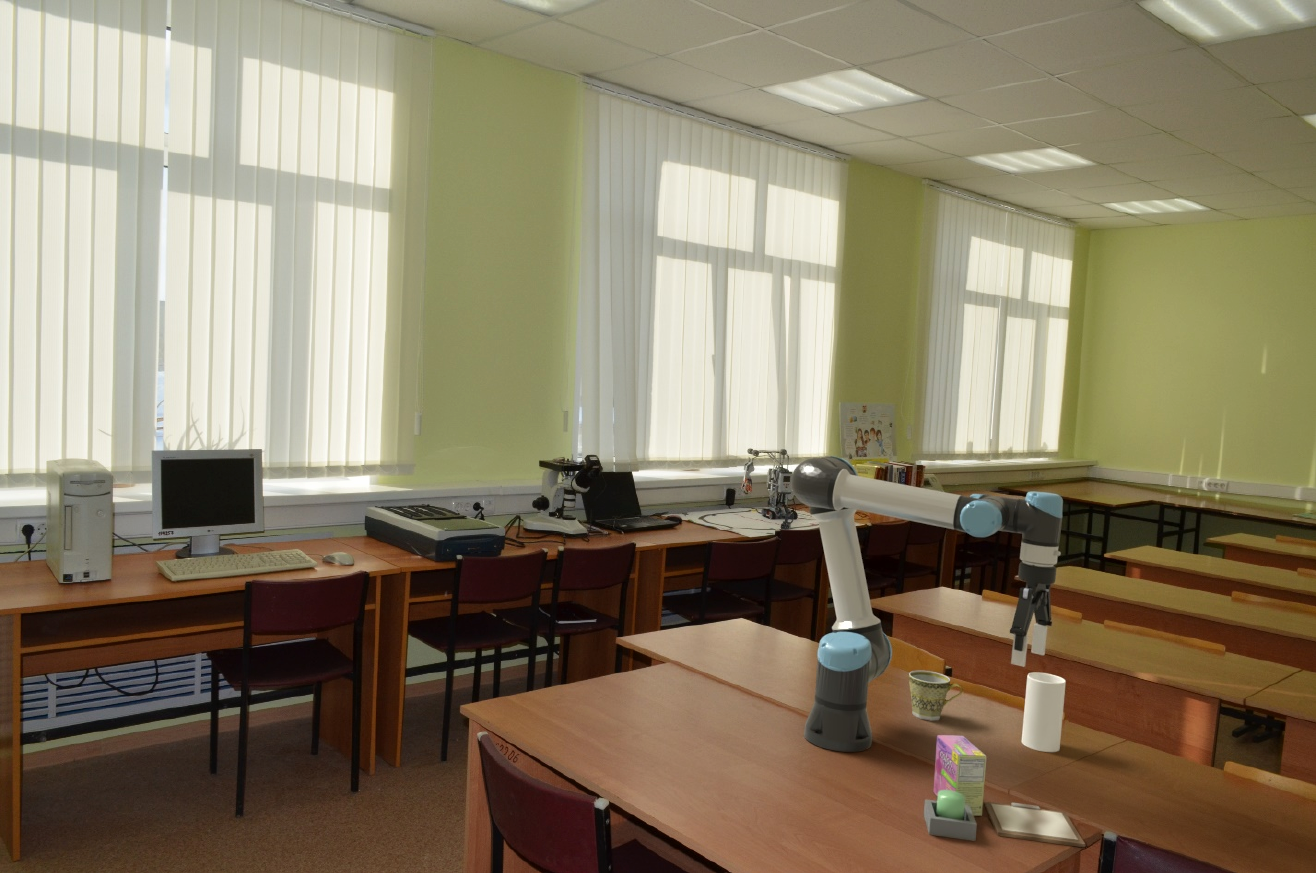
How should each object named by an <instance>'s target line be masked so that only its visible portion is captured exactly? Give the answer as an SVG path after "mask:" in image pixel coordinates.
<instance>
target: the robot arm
mask: <svg viewBox="0 0 1316 873" xmlns="http://www.w3.org/2000/svg"><path fill="white" fill-rule="evenodd" d="M790 482H791V490H792V492H793V495H794V496H795V498H797V501H799V502H800V503H802V504H804V505H805V506H807V507H808V510H809V513H810V514H809V515H810V516H811V518H812V519H815V520H816V521H817V523H818V526H819V527H818V528H819V532H820V538H821V543H822V547H823V552H824V558H825V564H826V569H827V573H828V574H827V575H828V580H829V585H830V589H831V590H830V591H831V594H832V599H833V606H834V611H835V616H836V620H835V622H834V623H833V625H832V626H831V630H832V632H830V633H827V634H825V635H824V636H822V637H821V639H820V640H819V645H818V649H817V652H816V653H817V662H816V678H815V691H814V693H815V694H814V701H813V705H812V707H811V710H810V712H809V714H808V716H807V719H806V722H805V724H804V730H803V731H804V733H803V736H804V738H805V740H807V741H808V742H809V743H811V744H813V745H815V746H817V747H819V748H823V749H826V750H831V751H836V752H844V753H845V752H846V753H848V752H849V753H853V752H861V751H866V750H868V749H870V748H871V747H872V744H873V743H872V741H873V731H872V729H871V724H870V719H869V715H868V711H867V706H868V705H867V703H868V693H869V692H868V691H869V684H870V683H871V682H872V681H873V680H874V679H876V678H878V677H880V676H882V674H884V672H885V671H886V670H887V669H888V667H889V665H890V663H891V661H892V658H893V657H892V656H893V647H892V644H891V640H890V639H889V637H888V636H887V635H886V634H885V633H884V631H883V628H882V626H883V625H882V621H881V619H880V618H878V617H877V616H875V615H874V613H873V609H872V604H871V599H870V594H869V590H868V589H869V588H868V583H867V579H866V572H865V569H864V563H863V562H864V561H863V559H862V558H863V557H862V553H861V546H860V542H859V537H858V531H857V527H856V523H855V514H856V513H857V511H860V512H866V513H871V514H876V515H880V516H886V517H892V518H895V519H900V520H906V521H911V522H915V523H921V524H926V525H930V526H936V527H941V528H946V529H949V530H950V529H951V530H956V531H958V532H963V533H967V534H969V535H970V536H972V537H975V538H987V537H990V536H992V535H994V534H996V533H997V532H998V531H999V532H1000V531H1001V532H1006V533H1007V532H1009V533H1015V534H1022V535H1021V536H1022V537H1021V544H1020V545H1021V546H1020V551H1019V552H1020V553H1019V560H1021V561H1020V563H1019V565H1018V573H1017V574H1018V575H1017V578H1018V579H1019V580H1021V581H1024V582H1026V584H1025V587H1020V588H1019V596H1018V600H1017V603H1016V604H1017V605H1016V607H1015V613H1014V617H1013V620H1012V623H1011V627H1010V629H1009V634H1013V640H1012V642H1013V643H1012V648H1011V649H1012V650H1011V661H1010V664H1011V665H1016V666H1019V667H1023V668H1024V667H1026V663H1027V662H1026V660H1027V651H1028V644H1029V643H1028V640H1029V636H1028V631H1029V629H1030V625H1031V623H1032V620H1033V616H1034V619H1035V623H1034V624H1033V630H1032V640H1031V641H1032V642H1031V652H1030V653H1032V654H1036V655H1039V656H1045V654H1046V643H1047V636H1048V635H1047V634H1048V627H1052V626H1053V621H1052V606H1051V604H1052V603H1051V585H1053V584H1055V583H1056V577H1057V567H1056V566H1055V565H1057V563H1058V557H1059V556H1061V553H1062V552H1061V551H1059V546H1060V539H1061V530H1062V522H1063V504H1064V500H1063V498H1062V496H1061V495H1060V494H1057V493H1053V492H1052V493H1051V492H1045V491H1033V490H1032V491H1028V492H1027V493H1026V496H1025V498H1013V497H1012V498H1011V497H1006V496H998V495H992V494H991V495H990V494H989V493H988V494H987V493H982V494H981V493H972V494H970V496H967V495H961V494H955V493H952V492H951V493H950V492H944V491H939V490H934V489H928V488H923V487H917V486H912V485H907V484H903V483H897V482H891V481H886V480H881V479H875V478H869V477H865V476H859V474H858V472H857V470H856V468H855V466H853V464H852V463H850V462H849V461H848V460H846V459H844V458H842V457H839V456H838V457H837V456H833V455H830V456H823V457H822V456H821V457H811V458H807V459H805V460H802V461H801V462H799V464H798V465H797V466H796V467H795V468H794V470H793V472H792V475H791V479H790Z"/></svg>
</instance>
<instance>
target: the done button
mask: <svg viewBox="0 0 1316 873" xmlns="http://www.w3.org/2000/svg"><path fill="white" fill-rule="evenodd" d="M936 801H937V810H936V817H943V818H950V819H958V820H963V819H964V808H965V796H964V795H962V794H961V793H959V792H956V791H952V790H941V791H939V792H938V797H937V799H936Z"/></svg>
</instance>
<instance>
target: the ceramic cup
mask: <svg viewBox="0 0 1316 873" xmlns="http://www.w3.org/2000/svg"><path fill="white" fill-rule="evenodd" d="M951 682H952V681H951V678H950V677H948V676H947V675H944V674H943V673H940V672H935V671H930V670H912V671H910V672H909V673H908V683H909V691H910V696H911V697H910V698H911V710H912V715H913V716H914V717H915V718H918V719H921V720H926V721H939V720H940V719H941V714H942V711H943V709H944V706H946V704H947V703H949V702H951V701H952V700H954V699H956V698H957V697H959V696H961V695H962V693H963V687H962V686H961V684H959V683H956V682H955V683H952V684H950V683H951ZM954 687H958V688H960V692H959V693H958V694H955V695H953V696H951V698H949V699H946V698H947V693H949V691H950V690H951V689H952V688H954Z"/></svg>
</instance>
